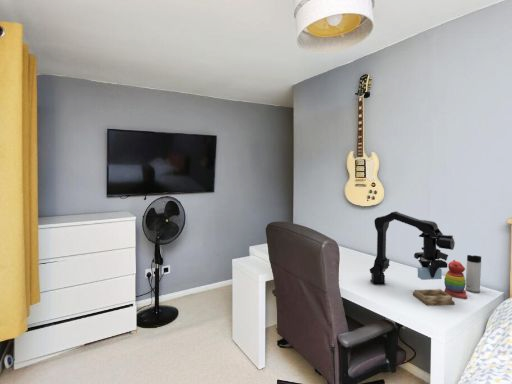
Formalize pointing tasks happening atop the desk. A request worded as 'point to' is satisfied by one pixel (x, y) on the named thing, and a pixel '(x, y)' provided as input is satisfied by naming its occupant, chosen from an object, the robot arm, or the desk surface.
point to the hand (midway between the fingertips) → (429, 276)
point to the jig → (433, 297)
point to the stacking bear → (455, 280)
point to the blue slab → (428, 273)
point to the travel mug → (473, 273)
